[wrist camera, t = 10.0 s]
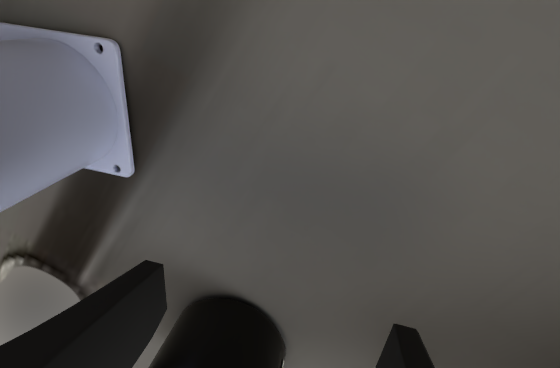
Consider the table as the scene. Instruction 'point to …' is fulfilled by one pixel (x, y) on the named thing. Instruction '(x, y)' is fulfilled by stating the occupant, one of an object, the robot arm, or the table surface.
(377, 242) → the table surface
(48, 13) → the table surface
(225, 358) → the ink bottle
